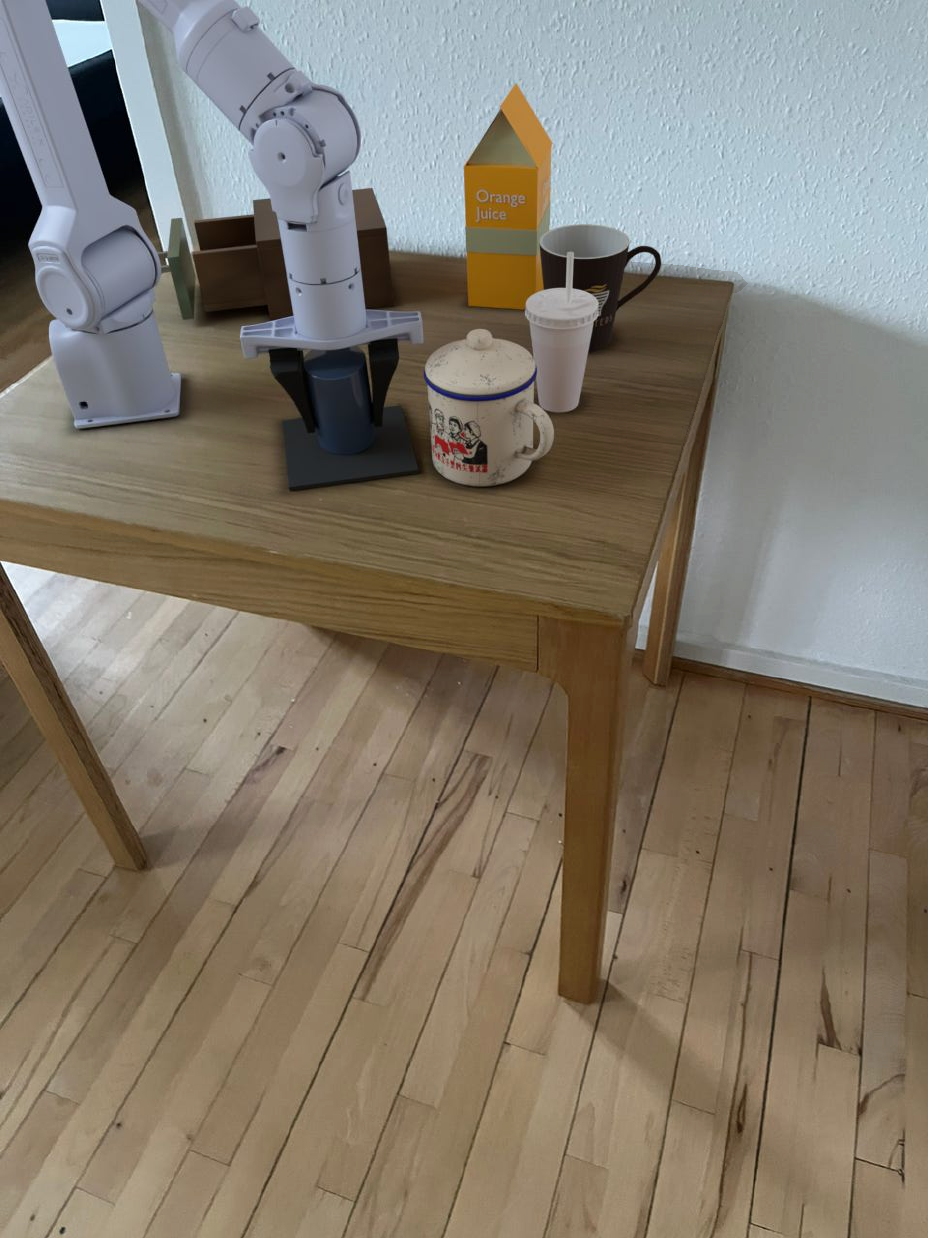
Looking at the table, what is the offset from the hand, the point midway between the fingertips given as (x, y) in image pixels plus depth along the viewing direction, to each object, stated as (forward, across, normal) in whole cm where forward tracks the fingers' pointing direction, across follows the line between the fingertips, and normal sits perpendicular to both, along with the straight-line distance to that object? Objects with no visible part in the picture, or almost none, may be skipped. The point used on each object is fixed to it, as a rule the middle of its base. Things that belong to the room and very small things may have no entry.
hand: (345, 423), depth 83 cm
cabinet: (+2, +2, -34) cm, 34 cm away
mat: (+2, 0, 0) cm, 2 cm away
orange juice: (+3, -19, -30) cm, 35 cm away
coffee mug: (+3, -26, -16) cm, 30 cm away
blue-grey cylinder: (+2, 0, -1) cm, 2 cm away
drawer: (+1, +13, -33) cm, 36 cm away
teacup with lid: (+3, -12, +5) cm, 14 cm away
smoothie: (+3, -20, -4) cm, 20 cm away
